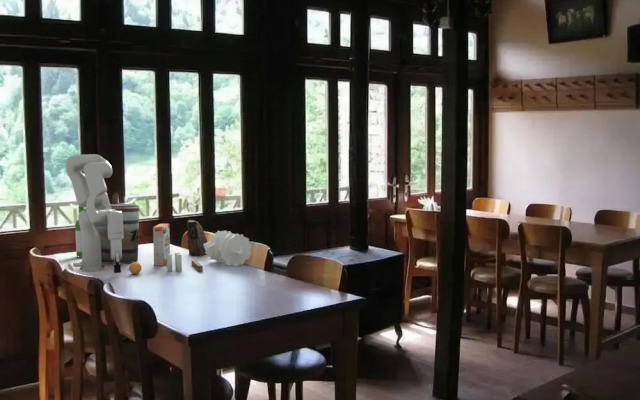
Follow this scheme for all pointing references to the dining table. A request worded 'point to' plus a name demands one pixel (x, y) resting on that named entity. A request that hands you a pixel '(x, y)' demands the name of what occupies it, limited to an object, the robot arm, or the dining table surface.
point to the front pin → (169, 262)
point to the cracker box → (161, 244)
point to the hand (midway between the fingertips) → (117, 272)
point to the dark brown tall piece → (196, 239)
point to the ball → (135, 268)
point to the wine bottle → (78, 236)
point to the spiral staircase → (228, 248)
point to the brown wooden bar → (197, 265)
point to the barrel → (129, 234)
